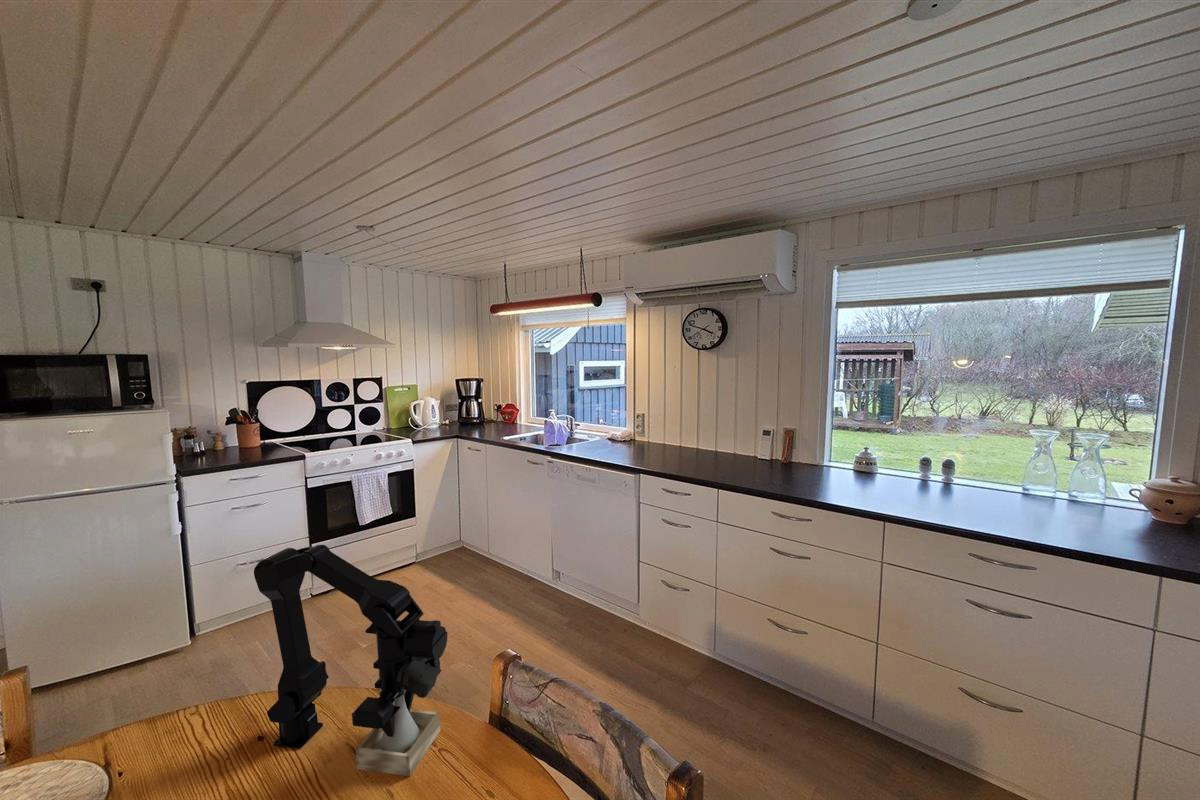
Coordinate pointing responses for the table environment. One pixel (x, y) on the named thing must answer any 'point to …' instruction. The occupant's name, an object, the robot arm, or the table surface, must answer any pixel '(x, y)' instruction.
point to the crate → (399, 762)
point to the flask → (400, 729)
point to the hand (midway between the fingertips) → (398, 725)
